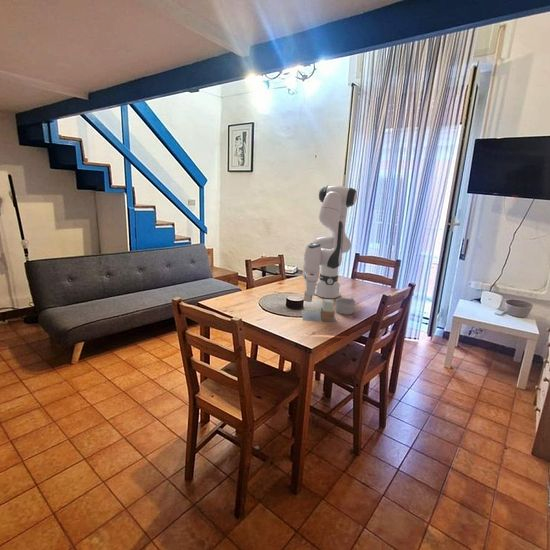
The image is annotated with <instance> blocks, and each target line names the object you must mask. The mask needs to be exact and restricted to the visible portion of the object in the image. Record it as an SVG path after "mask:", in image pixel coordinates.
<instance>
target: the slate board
mask: <svg viewBox="0 0 550 550" xmlns="http://www.w3.org/2000/svg"><path fill="white" fill-rule="evenodd" d="M300 313H301V318H302V321H303V322H304V321H306V322H324V323H325V322H326V323H338V320H337V319H336V316H335V315H334V321H322V319H321V317H320V316H321V311H309V310H300Z"/></svg>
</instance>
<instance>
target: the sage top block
mask: <svg viewBox="0 0 550 550" xmlns="http://www.w3.org/2000/svg"><path fill="white" fill-rule="evenodd" d="M334 307H335V302H334V299H329V298H323V299H322V307H321V308H323V311H324V312H333V311H334V309H335V308H334Z"/></svg>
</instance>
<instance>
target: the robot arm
mask: <svg viewBox="0 0 550 550" xmlns="http://www.w3.org/2000/svg"><path fill="white" fill-rule="evenodd" d="M357 194H358V193H357V190H356V189H355V188H353V187H347V186H342V185H328V184H326V185H325V184H324V185H322V186H321V187H320V189H319V191H318V199H319V201H320V202H321V203H322V204H321V206H320V210H319V214H318V219H319V222H320V223H321V224H322V225H323V226H324V227H325V228H327V229H328V230H329V231H331V234H332V235H331V236H320V237H316V238H315V239H314V241H313V242H310V243H309V242H308V243H307V245H306V246H305V251H304V256H303V261H304V262H303V263H304V264H303V268H302V277H303V278H304V285H305V291H306V292H307V300H310V299H311V296H312V297H313V296H318V297H321V298H323V299H335V298H336V299H337V298H338V297H341V296H342V293H340V287H341V286H340V283H339V282H338V281H339V267H340V266H341V264H342V262H343V254H346V253H348V252H350V250H351V247H352V243H351V240H350V239H349V238H348V237H347V235H346V227H345V226H346V220H347V215H348V214H347V213H348V208H350V207H353V206H354V205H355V203H356V202H357V199H358V195H357Z"/></svg>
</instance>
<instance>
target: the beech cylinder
mask: <svg viewBox="0 0 550 550" xmlns="http://www.w3.org/2000/svg"><path fill="white" fill-rule="evenodd" d="M303 301H304V302H307V303H309V302H313V296H311V299H310V300H307V292H306V290H304V295H303Z"/></svg>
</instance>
